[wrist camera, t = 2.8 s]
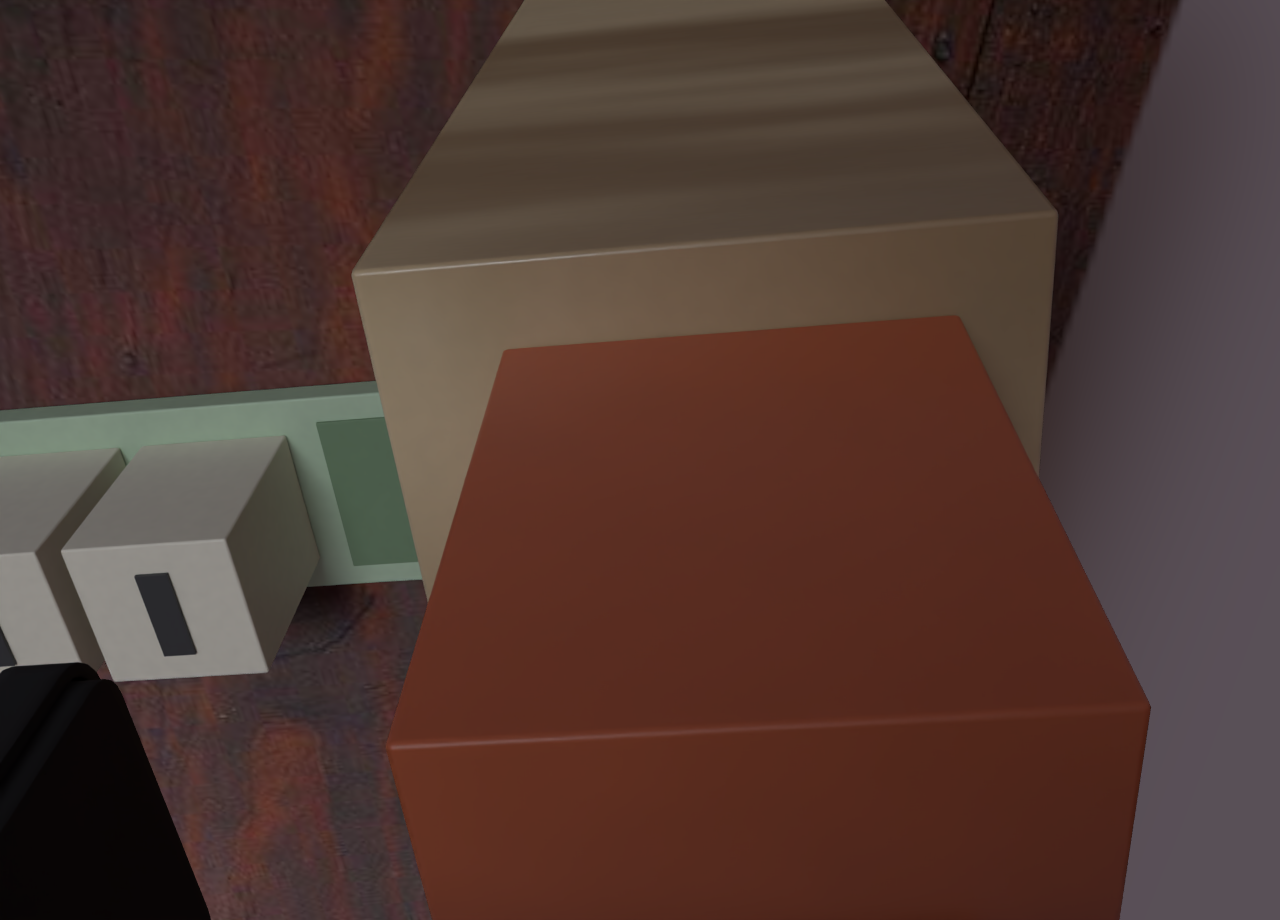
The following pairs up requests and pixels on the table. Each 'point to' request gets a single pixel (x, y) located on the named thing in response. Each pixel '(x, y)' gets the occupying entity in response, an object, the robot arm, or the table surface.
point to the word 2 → (693, 210)
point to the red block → (764, 647)
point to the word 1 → (190, 525)
